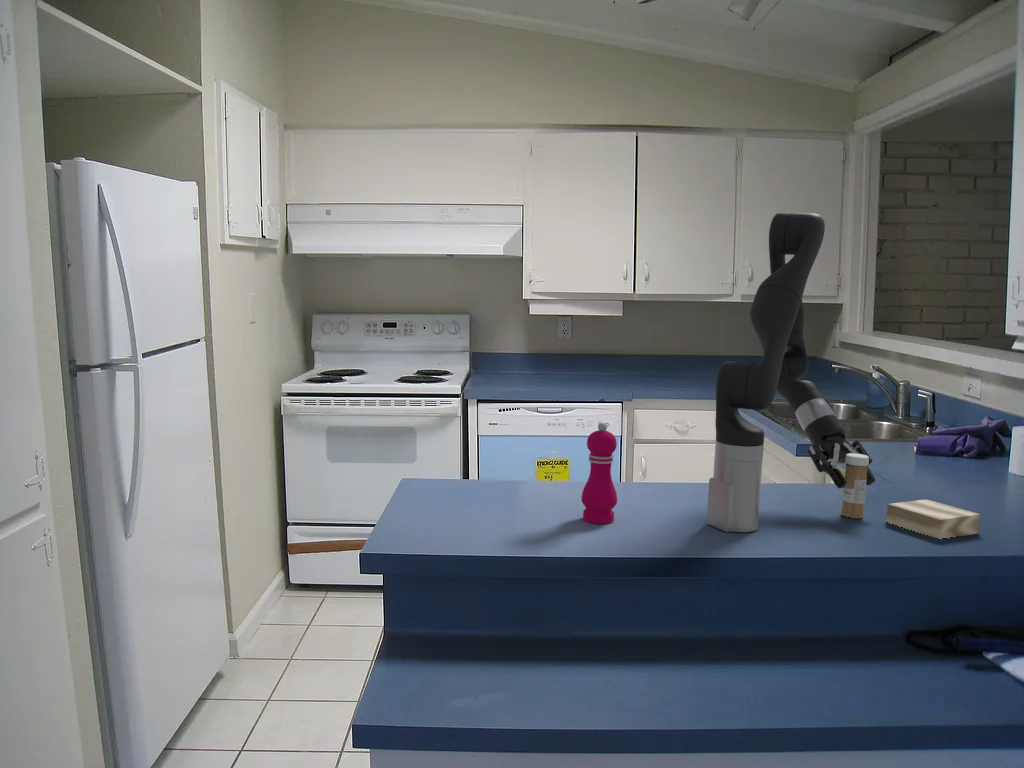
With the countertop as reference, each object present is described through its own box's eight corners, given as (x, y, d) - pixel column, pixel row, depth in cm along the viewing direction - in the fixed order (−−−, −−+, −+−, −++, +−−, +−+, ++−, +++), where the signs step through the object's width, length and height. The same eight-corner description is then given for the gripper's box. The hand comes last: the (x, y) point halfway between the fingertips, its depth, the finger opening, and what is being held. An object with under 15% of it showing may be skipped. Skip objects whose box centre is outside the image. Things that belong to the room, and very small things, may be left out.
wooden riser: (938, 539, 150) (940, 519, 150) (886, 522, 161) (887, 504, 161) (978, 533, 156) (980, 514, 155) (924, 517, 166) (926, 499, 166)
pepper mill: (574, 516, 159) (578, 420, 156) (605, 513, 161) (610, 419, 159) (590, 526, 152) (594, 426, 150) (622, 523, 155) (627, 425, 152)
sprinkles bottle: (836, 513, 167) (841, 452, 166) (856, 513, 168) (861, 452, 166) (847, 519, 163) (853, 457, 161) (868, 519, 163) (873, 457, 162)
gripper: (806, 414, 167) (844, 478, 158) (852, 412, 173) (892, 473, 164) (786, 434, 173) (822, 496, 164) (832, 431, 179) (869, 491, 170)
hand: (857, 485), depth 164 cm, fingers open, 8 cm apart
